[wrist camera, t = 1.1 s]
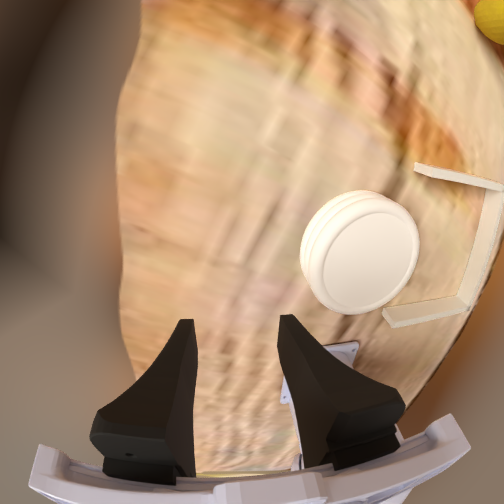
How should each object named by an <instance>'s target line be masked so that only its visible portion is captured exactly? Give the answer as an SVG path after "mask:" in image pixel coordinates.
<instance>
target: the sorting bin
mask: <svg viewBox="0 0 504 504" xmlns="http://www.w3.org/2000/svg"><path fill="white" fill-rule="evenodd" d="M414 171H416V172H418V173H421V174H424V175H427V176H430V177H433V178H439V179H445V180H450V181H455V182H460V183H465V184H470V185H474V186H479V187H483V188H486V192H485V197H484V203H483V207H482V212H481V217H480V221H479V225H478V229H477V233H476V237H475V241H474V244H473V248H472V251H471V254H470V258H469V261H468V264H467V267H466V270H465V273H464V276H463V279H462V281H461V284H460V287H459V290H458V292H457V295H455V296H450V297H445V298H439V299H434V300H429V301H423V302H417V303H411V304H405V305H399V306H392V307H386V308H383V311H382V315H383V317H384V318H385V319H386V321H387V322H388V323H389V325H390V326H391V327H392V329H393V328H398V327H403V326H408V325H413V324H417V323H422V322H426V321H430V320H435V319H439V318H443V317H447V316H450V315H454V314H458V313H462V312H465V311H469V309H470V307H471V305H472V303H473V300H474V298H475V295H476V293H477V290H478V288H479V285H480V283H481V280H482V277H483V274H484V272H485V269H486V266H487V263H488V260H489V257H490V254H491V250H492V247H493V244H494V240H495V236H496V233H497V229H498V225H499V221H500V217H501V212H502V207H503V203H504V185H503V184H501V183H498V182H496V181H493V180H491V179H487V178H484V177H480V176H476V175H472V174H468V173H464V172H460V171H456V170H452V169H447V168H443V167H438V166H433V165H428V164H423V163H418V162H415V164H414Z"/></svg>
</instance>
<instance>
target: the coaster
mask: <svg viewBox="0 0 504 504" xmlns="http://www.w3.org/2000/svg"><path fill="white" fill-rule="evenodd" d="M419 248H420V238H419V232H418V229H417V226H416V223H415V221H414V219H413V218H412V217H411V215H410V214H409V212H408V211H407V210H406V209H405V208H404V207H403V206H401V205H400V204H398V203H397V202H394V201H392V200H391V199H389V198H387V197H385V196H383V195H381V194H379V193H377V192H373V191H367V190H357V191H350V192H346V193H343V194H341V195H338V196H337V197H335V198H333V199H331V200H330V201H328V202H327V203H326V204H325V205H324V206H322V207H321V208H320V209H319V210H318V212H317V213H316V214H315V215H314V216H313V218H312V219H311V221H310V222H309V224H308V226H307V228H306V230H305V232H304V235H303V238H302V242H301V248H300V262H301V268H302V271H303V274H304V276H305V278H306V280H307V281H308V283H309V286H310V287H311V289H312V291H313V293H314V295H315V296H316V298H317V299H318V300H319V301H320V302H321V303H322V304H323V305H325V306H326V307H327V308H329V309H330V310H332V311H335V312H337V313H341V314H347V315H356V314H363V313H367V312H370V311H372V310H375V309H377V308H379V307H381V306H383V305H384V304H386V303H387V302H389V301H390V300H391V299H393V298H394V297H395V296H396V295H397V294H398V293H399V292H400V291H401V290H402V289H403V287H404V286H405V285H406V283H407V282H408V280H409V279H410V277H411V275H412V273H413V271H414V269H415V266H416V263H417V260H418V255H419Z"/></svg>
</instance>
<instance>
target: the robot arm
mask: <svg viewBox="0 0 504 504" xmlns="http://www.w3.org/2000/svg"><path fill="white" fill-rule="evenodd" d="M277 348H278V353H279V359H280V364H281V367H282V370H283V373H284V378H283V384H282V390H281V396H280V402H281V403H283V404H284V403H289V406H290V410H291V414H292V418H293V422H294V426H295V430H296V434H297V438H298V440H299V442H300V444H299V447H300V451H301V453H298V454H297V455H295V457H294V460H293V463H292V466H291V471H289V472H282V473H275V474H267V475H257V476H245V477H226V478H196V470H195V456H194V436H193V404H194V395H195V386H196V378H197V369H198V348H197V342H196V335H195V327H194V320H193V319H180V320H179V322H178V324H177V326H176V328H175V330H174V332H173V333H172V335H171V337H170V339H169V340H168V342H167V343H166V345H165V347H164V348H163V350H162V351H161V353H160V354H159V355H158V357H157V358H156V359H155V361H154V362H153V363H152V365H151V366H150V367H149V368H148V370H147V371H146V372H145V373H144V374H143V375H142V376H141V377H140V378H139V379H138V380H137V381H136V382H135V383H134V384H133V385H132V386H131V387H130V388H129V389H128V390H126V391H125V392H124V393H123V394H121V395H120V396H119V397H118V398H117V399H115V400H114V401H112V402H111V403H109V404H107V405H106V406H104V407H103V408H101V409H99V410H98V411H97V414H96V416H95V418H94V421H93V424H92V428H91V432H90V441H91V442H92V444H93V445H94V446H95V447H96V448H97V449H98V450H99V451H100V452H101V454H103V456H104V457H105V458H104V463H103V467H101V466H97V465H92V464H88V463H84V462H80V461H77V460H73V459H70V458H69V456H67V454H65V453H64V452H62V451H60V450H57V449H55V448H52V447H49V446H46V445H43V444H39V447H38V450H37V454H36V457H35V461H34V464H33V468H32V472H31V476H30V480H29V487H30V488H32V489H34V490H35V491H37V492H38V493H40V494H42V495H44V496H45V497H47V498H49V499H50V500H52V501H54V502H56V503H58V504H402V503H403V501H404V500H405V498H406V497H407V495H408V494H409V493H410V491H411V490H412V489H413V487H415V486H417V485H419V484H421V483H423V482H424V481H426V480H428V479H430V478H432V477H434V476H435V475H437V474H439V473H441V472H442V471H444V470H445V469H447V468H448V467H449V466H451V465H452V464H453V463H454V462H456V461H457V460H458V459H459V458H461V457H462V456H463V455H464V454H465V453H467V451H469V450H470V449H471V447H470V445H469V443H468V441H467V439H466V438H465V436H464V434H463V433H462V431H461V429H460V427H459V426H458V424H457V423H456V421H455V419H454V417H453V416H452V414H448V415H446V416H444V417H442V418H440V419H438V420H436V421H434V422H433V423H431V424H430V425H429V426H428V427H427V428H426V430H425V431H424V432H422V433H419V434H417V435H415V436H412V437H410V438H407V439H405V440H404V439H403V437H402V435H401V433H400V431H399V429H398V427H397V425H396V422H397V421H398V419H399V418H400V417H401V415H402V414H403V412H404V410H405V407H406V405H405V403H404V401H403V399H402V397H401V396H400V394H399V393H398V391H397V390H396V389H395V388H393V387H390V386H387V385H384V384H382V383H379V382H377V381H375V380H372V379H370V378H368V377H366V376H364V375H362V374H360V373H359V372H357V371H355V370H354V368H353V366H352V364H353V361H354V359H355V356H356V353H357V350H358V348H359V343H358V342H357V341H355V342H349V343H342V344H336V345H329V346H322V345H321V344H320V343H319V342H318V341H317V340H316V339H315V338H314V337H313V336H312V335H311V334H310V333H309V332H308V331H307V330H306V329H305V328H304V326H303V325H302V324H301V323H300V322H299V321H298V320H297V318H296V317H295V316H294V315H293V314H289V315H280V322H279V332H278V342H277Z"/></svg>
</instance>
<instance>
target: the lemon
mask: <svg viewBox="0 0 504 504" xmlns="http://www.w3.org/2000/svg"><path fill="white" fill-rule="evenodd" d="M474 17H475V24H476V26H477V27H478V28H479V29H480V30H481V31H482V33H483V34H484V35H485V36H486V37H488V38H489V39H490V40H492V41H494V42H496V43H498V44H502V45H504V0H481V1H479V2H478V3H477V5H476V6H475V9H474Z"/></svg>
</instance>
